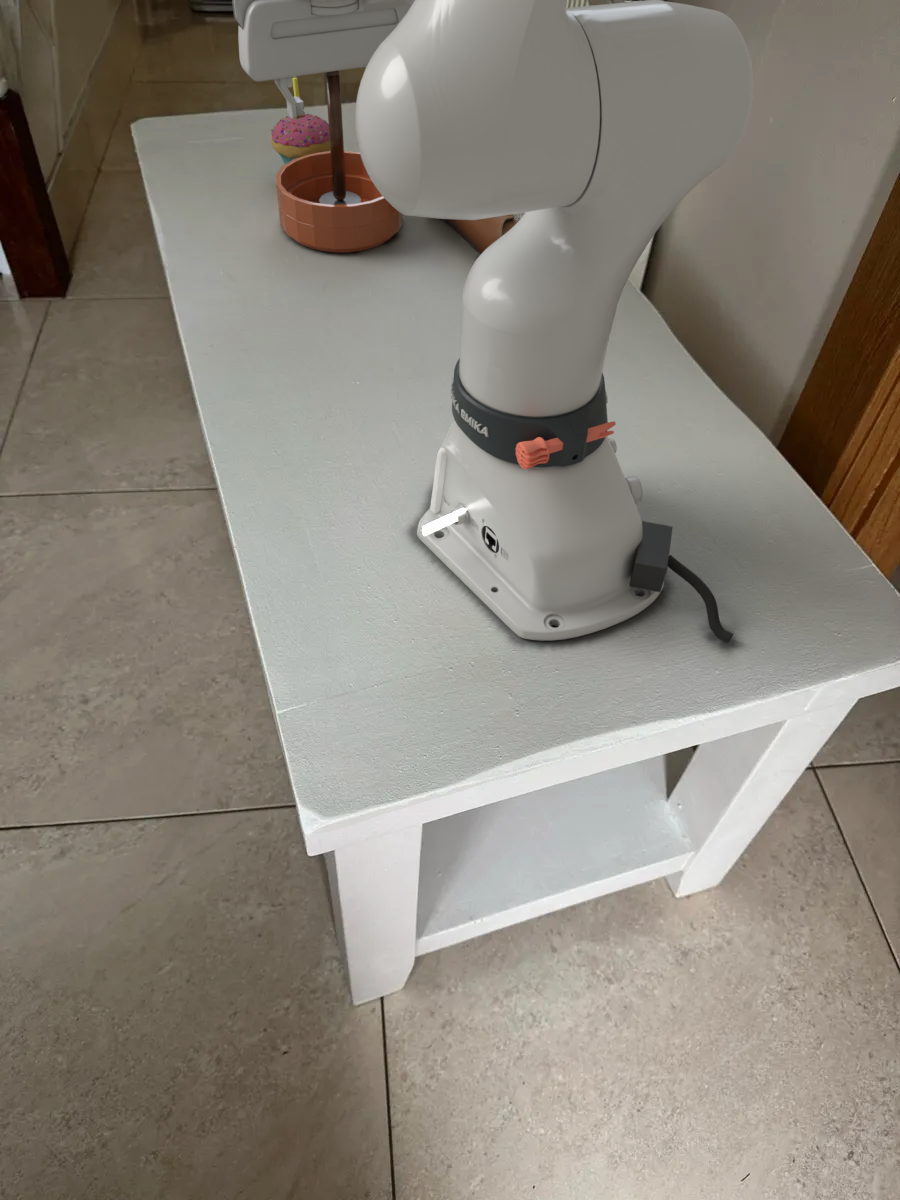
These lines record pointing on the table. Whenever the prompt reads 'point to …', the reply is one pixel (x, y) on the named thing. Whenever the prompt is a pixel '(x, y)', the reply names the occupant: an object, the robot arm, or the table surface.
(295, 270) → the table surface
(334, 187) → the rod on grey base
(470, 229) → the sunglasses case
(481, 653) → the table surface
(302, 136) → the cupcake
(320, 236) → the bowl
